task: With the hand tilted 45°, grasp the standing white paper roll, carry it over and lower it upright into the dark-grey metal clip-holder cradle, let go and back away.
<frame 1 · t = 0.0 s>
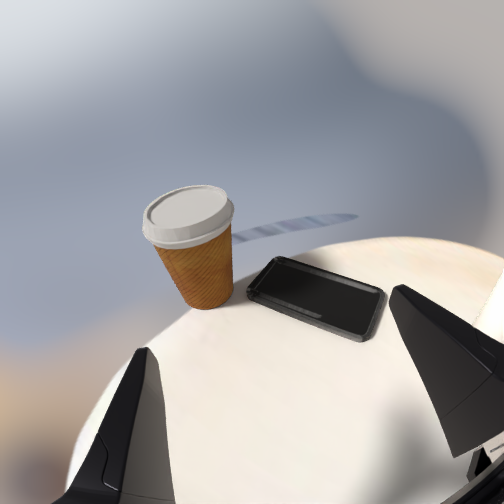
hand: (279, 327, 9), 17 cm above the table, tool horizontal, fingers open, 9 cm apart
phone: (315, 300, 32), on the table
paper roll: (475, 354, 21), on the table
disposable coffee cup: (208, 291, 34), on the table
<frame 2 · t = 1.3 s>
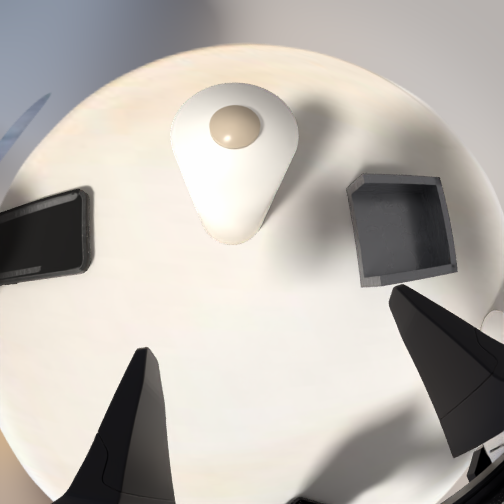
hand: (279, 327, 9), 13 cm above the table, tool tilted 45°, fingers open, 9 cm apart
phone: (34, 243, 22), on the table
paper roll: (232, 214, 23), on the table
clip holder: (395, 233, 24), on the table
cosmetic bottle: (490, 334, 24), on the table
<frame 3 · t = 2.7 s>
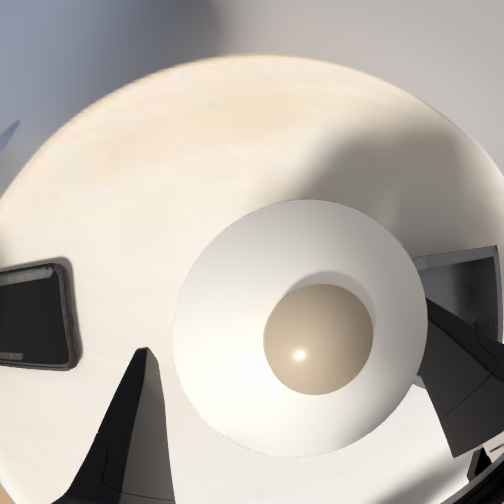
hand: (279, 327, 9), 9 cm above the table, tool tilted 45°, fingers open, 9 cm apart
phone: (12, 320, 16), on the table
paper roll: (255, 306, 18), on the table
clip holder: (442, 311, 19), on the table
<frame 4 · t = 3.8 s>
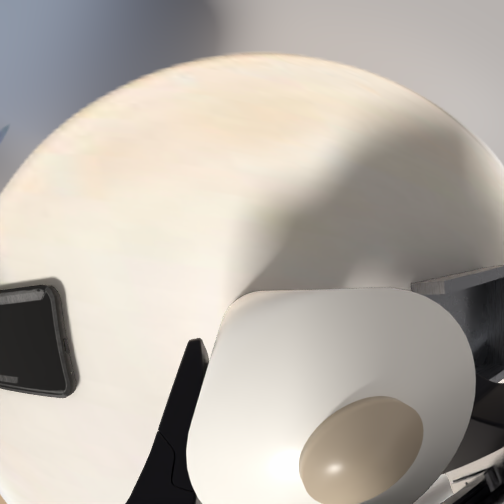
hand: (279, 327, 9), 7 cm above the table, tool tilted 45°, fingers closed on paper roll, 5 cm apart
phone: (5, 340, 15), on the table
paper roll: (263, 334, 16), on the table, touching gripper
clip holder: (455, 331, 17), on the table
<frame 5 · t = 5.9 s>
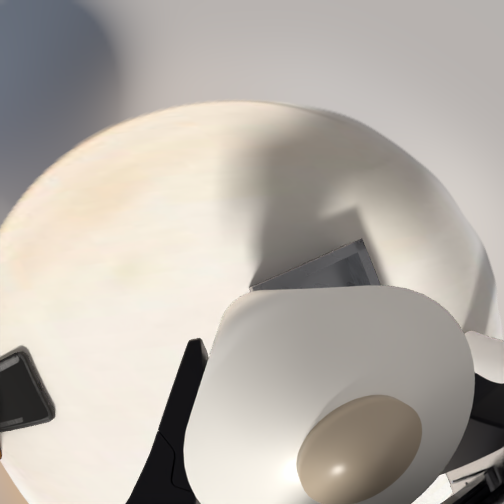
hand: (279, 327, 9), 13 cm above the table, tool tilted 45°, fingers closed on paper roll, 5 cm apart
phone: (9, 396, 19), on the table
paper roll: (263, 334, 16), point 6 cm above the table, touching gripper
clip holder: (319, 315, 23), on the table
cosmetic bottle: (464, 356, 24), on the table
when the fingers open (9 cm above the table, at t = 7.9 s): paper roll drops 1 cm, resting on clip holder.
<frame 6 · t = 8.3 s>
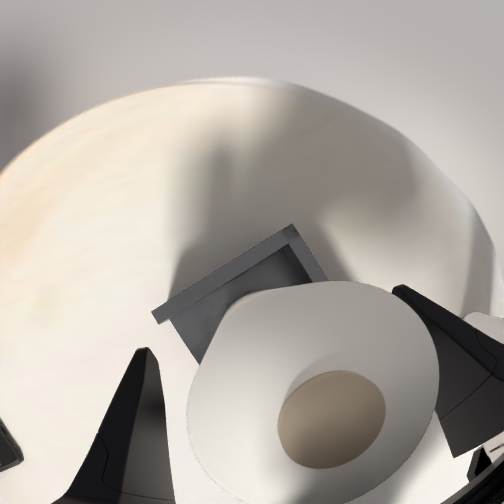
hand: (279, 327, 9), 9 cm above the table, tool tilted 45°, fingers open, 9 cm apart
paper roll: (262, 332, 17), point 1 cm above the table, touching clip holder
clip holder: (260, 330, 18), on the table
cosmetic bottle: (468, 343, 19), on the table
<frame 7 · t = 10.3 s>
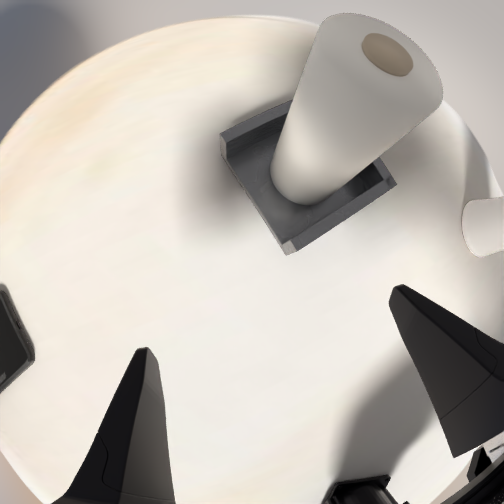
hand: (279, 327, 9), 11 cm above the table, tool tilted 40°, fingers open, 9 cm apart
paper roll: (304, 171, 20), point 1 cm above the table, touching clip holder
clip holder: (302, 174, 21), on the table
cosmetic bottle: (476, 228, 22), on the table
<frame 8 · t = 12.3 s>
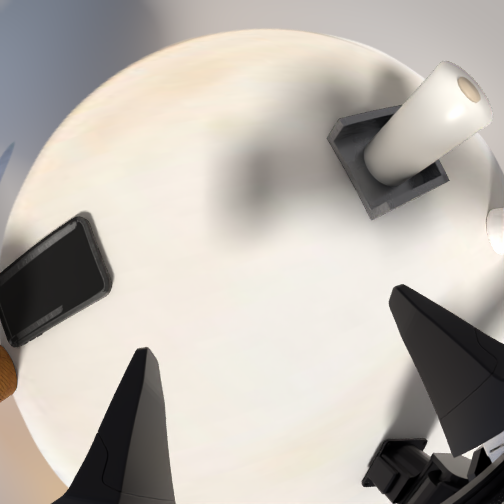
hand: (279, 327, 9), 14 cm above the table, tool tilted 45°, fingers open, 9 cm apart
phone: (46, 287, 22), on the table
paper roll: (386, 162, 25), point 1 cm above the table, touching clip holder
disposable coffee cup: (1, 368, 20), on the table
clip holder: (382, 164, 25), on the table
cosmetic bottle: (496, 231, 26), on the table
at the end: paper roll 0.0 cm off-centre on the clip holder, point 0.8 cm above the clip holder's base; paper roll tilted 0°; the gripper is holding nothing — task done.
